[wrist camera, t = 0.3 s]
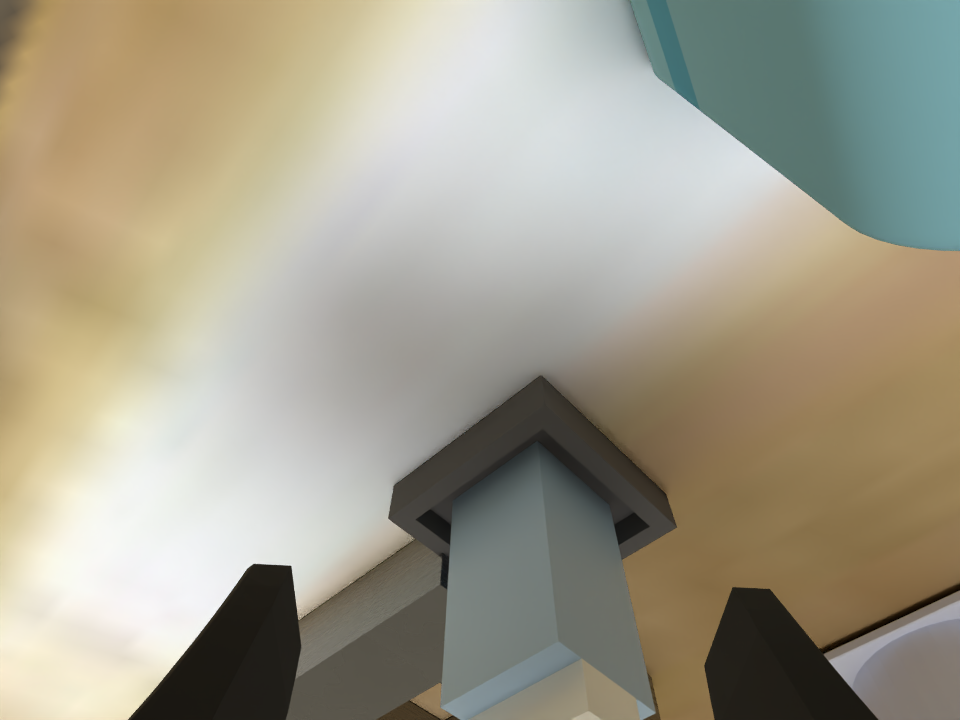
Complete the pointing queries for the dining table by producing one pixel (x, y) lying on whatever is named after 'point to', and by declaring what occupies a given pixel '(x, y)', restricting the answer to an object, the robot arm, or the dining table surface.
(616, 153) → the dining table surface
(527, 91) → the dining table surface
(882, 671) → the robot arm
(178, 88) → the dining table surface
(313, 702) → the port block
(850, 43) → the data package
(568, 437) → the square shadow box
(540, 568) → the plug
